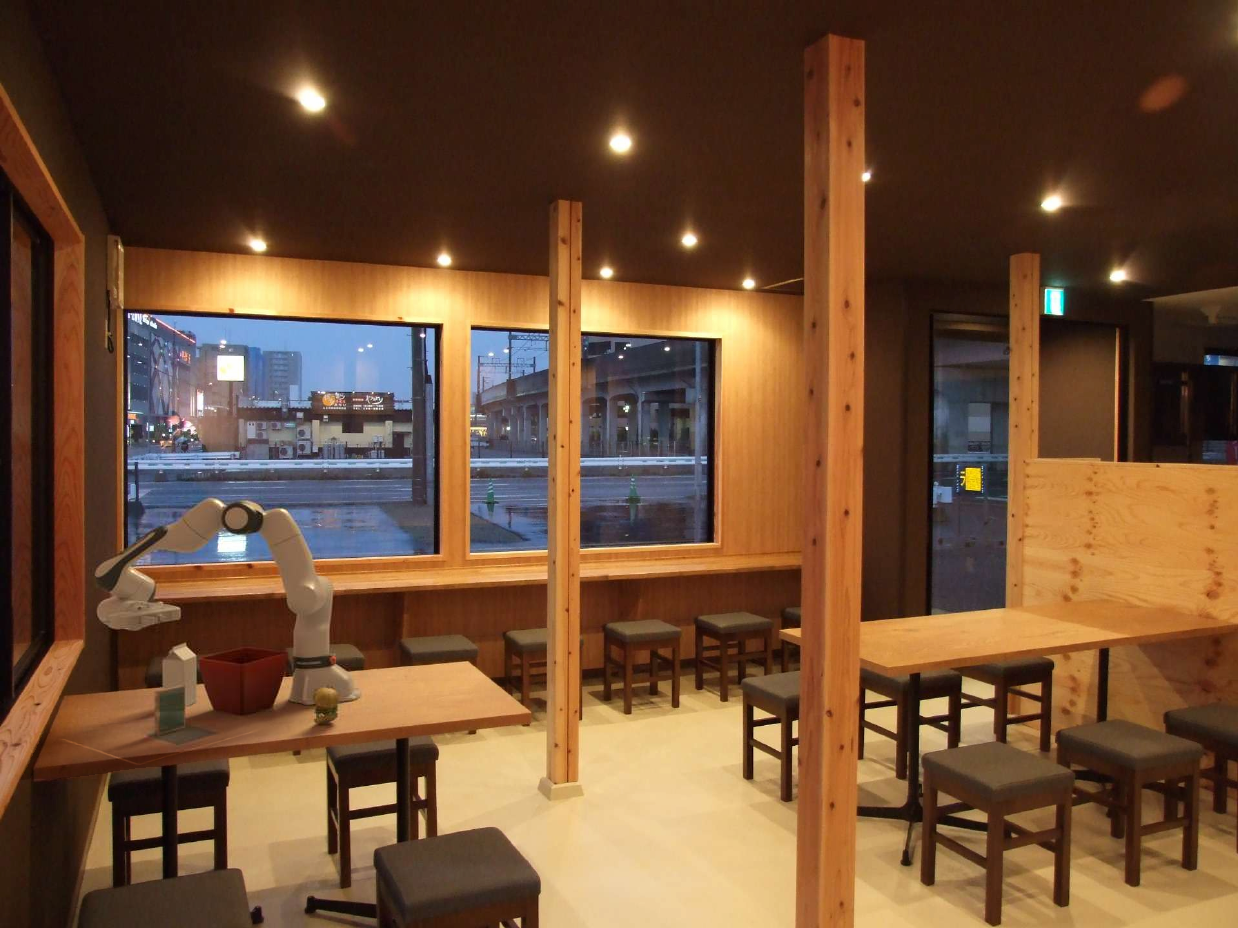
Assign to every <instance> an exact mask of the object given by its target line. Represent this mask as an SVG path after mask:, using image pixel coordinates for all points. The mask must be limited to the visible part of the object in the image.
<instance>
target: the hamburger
mask: <svg viewBox="0 0 1238 928" xmlns="http://www.w3.org/2000/svg"><path fill="white" fill-rule="evenodd" d="M313 701H314V703H315V704H314V705H315V706H314V714H315V715H316V717H315V718H314V719H313V722H314V723H315V724H316V725H325V724H329V723H331V722H333V721H334V720H337V718H338V716H339V703H340V702H339V694H338V693H337V691H335V690H334V689H332V688H330V685H329V686H328V687H325V688H320V689H318V690H317V691H316V692H315V693H314V694H313Z"/></svg>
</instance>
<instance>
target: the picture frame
mask: <svg viewBox="0 0 1238 928" xmlns="http://www.w3.org/2000/svg"><path fill="white" fill-rule="evenodd" d="M153 693H154V698H153V699H154V732H155V734H158V735H159V734H163V733H167V732H170V731H174V730H178V729H182V728H185V724H186V707H185V686H182V685H180V686H176V687H171V688H167V689H163V688H161V689H159V690H155V691H153Z"/></svg>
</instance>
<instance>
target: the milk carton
mask: <svg viewBox="0 0 1238 928" xmlns="http://www.w3.org/2000/svg"><path fill="white" fill-rule="evenodd" d="M180 685H182V686H185V708H186V707H188V706H190V705H193V704H195V703H197V701H198V700H197V694H198V693H197V689H198V688H197V655H196V653H194V652H193V651H192V650H191V649H190V648H189V647H188V646H187V643H186V642H184V643H182V644H178V645H176V646H173V647H172V649H170V651H168V654H167V656H166V657H164V658H163V659H162V689H167V688H171V687H176V686H180Z"/></svg>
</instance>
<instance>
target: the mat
mask: <svg viewBox="0 0 1238 928" xmlns="http://www.w3.org/2000/svg"><path fill="white" fill-rule="evenodd" d="M217 734H219V733H218V732H215V731H212V730H210V729H209V730H208V729H206V728H201V727H197V726H194V725H191V724H187V723H185V728H182V729H178V730H174V731H170V732H167V733H163V734H159V735H158V734H155V731H154V732H152V733H147V734H146V736H148V737H151V738H154V739H158V740H160V741H161V740H162V741H164V742H168V743H171V744H174V745H181V744H186V743H189V742H192V741H196V740H199V739H203V738H206V737H210V736H214V735H217Z"/></svg>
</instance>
